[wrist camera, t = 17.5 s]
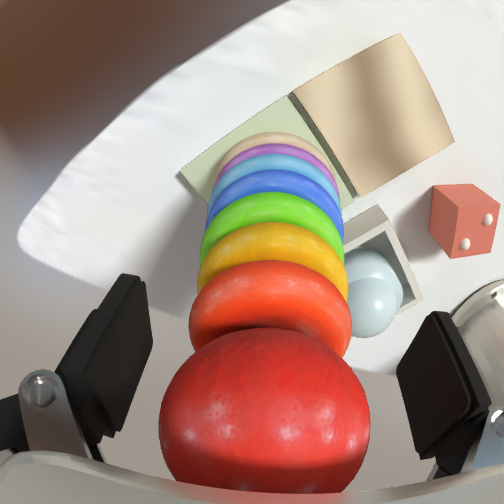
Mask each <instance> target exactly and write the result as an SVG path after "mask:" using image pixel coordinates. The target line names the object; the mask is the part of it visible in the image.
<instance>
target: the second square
mask: <svg viewBox="0 0 504 504" xmlns="http://www.w3.org/2000/svg"><path fill="white" fill-rule="evenodd" d="M264 132H284V133H289V134H293V135H296V136H299V137H301V138H303V139H305V140H307V141H309V142H310V143H312V144H313V145H314V146H316V147H317V148H318V149H319V150H320V151H321V152H322V153H323V154H324V155H325V157H326V158H327V160H328V161H329V163H330V165H331V166H332V169H333V171H334V174H335V177H336V181H337V187H338V191H339V195H340V206H341V209H343V208H344V207H346V206H348V205H350V204H351V203H353V202H355V201H354V200H353V198H352V196H351V194H350V193H349V191H348V189H347V188H346V186H345V184H344V183H343V181H342V179H341V177H340V176H339V174H338V173H337V171H336V169H335V168H334V166H333V164H332V163H331V161H330V160H329V158H328V156H327V155H326V153H325V152H324V150H323V149H322V147H321V145H320V144H319V142H318V141H317V139H316V138H315V136H314V135H313V133H312V132H311V130H310V129H309V127H308V126H307V124H306V123H305V121H304V120H303V118H302V117H301V116H300V114H299V113H298V111H297V110H296V108H295V107H294V106H293V104H292V103H291V101H290V100H289V99H288V97H287V96H286V95H285V96H283V97H282V98H280V99H279V100H277V101H276V102H274V103H273V104H271V105H269V106H268V107H266V108H265V109H263V110H262V111H260V112H259V113H257V114H256V115H254V116H253V117H251V118H250V119H249V120H247V121H246V122H244V123H243V124H241V125H240V126H238V127H237V128H236V129H234V130H233V131H231V132H230V133H229V134H227V135H226V136H224V137H223V138H222V139H220V140H219V141H217V142H216V143H215V144H213V145H212V146H211V147H209V148H208V149H207V150H205V151H204V152H203V153H201V154H200V155H199V156H197V157H196V158H195V159H193V160H192V161H191V162H190V163H188V164H187V165H186V166H184V167H183V168H182V169H181V170H180V172H181V173H182V174H183V175H184V177H185V178H186V179H187V180H188V181H189V183H190V184H191V185H192V186H193V187H194V189H195V190H196V191H197V192H198V193H199V195H200V196H201V197H202V198H203V199H204V201H205V202H206V203H207V204H209V200H210V197H211V194H212V190H213V181H214V176H215V172H216V169H217V167H218V165H219V163H220V161H221V160H222V158H223V157H224V155H225V154H226V153H227V152H228V151H229V150H230V149H231V148H232V147H233V146H234V145H235V144H237V143H238V142H240V141H241V140H243V139H245V138H247V137H249V136H252V135H255V134H259V133H264Z"/></svg>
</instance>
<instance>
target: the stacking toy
mask: <svg viewBox="0 0 504 504" xmlns="http://www.w3.org/2000/svg"><path fill="white" fill-rule="evenodd" d="M341 215H342V214H341V206H340V195H339V191H338V187H337V181H336V177H335V174H334V171H333V169H332V166H331V165H330V163H329V161H328V160H327V158H326V157H325V155H324V154H323V153H322V152H321V151H320V150H319V149H318V148H317V147H316V146H314V145H313V144H312V143H310V142H309V141H307V140H305V139H303V138H301V137H299V136H296V135H293V134H289V133H284V132H264V133H259V134H255V135H252V136H249V137H247V138H245V139H243V140H241V141H240V142H238V143H237V144H235V145H234V146H233V147H232V148H231V149H230V150H229V151H228V152H227V153H226V154H225V155H224V157H223V158H222V160H221V161H220V163H219V165H218V167H217V169H216V172H215V176H214V181H213V190H212V194H211V197H210V200H209V204H208V210H207V222H206V229H205V234H204V237H203V240H202V245H201V250H200V271H199V274H198V281H197V294H198V296H197V297H196V299H195V301H194V303H193V305H192V309H191V312H190V316H189V334H190V339H191V343H192V346H193V348H194V350H195V353H194V354H193V355H192V356H190V357H189V359H187V361H186V362H185V363H184V364H183V365H182V366H181V367H180V368H179V370H178V371H177V372H176V374H175V375H174V377H173V379H172V381H171V383H170V384H169V386H168V388H167V390H166V392H165V395H164V397H163V400H162V403H161V409H160V415H159V439H160V445H161V449H162V453H163V457H164V460H165V462H166V464H167V467H168V469H169V470H170V472H171V473H172V475H173V477H174V478H175V479H176V481H178V482H184V483H189V484H194V485H200V486H206V487H213V488H220V489H228V490H237V491H248V492H261V493H280V494H326V493H341V492H342V491H343V490H344V489H345V488H346V487H347V486H348V485H349V483H350V482H351V481H352V480H353V479H354V477H355V475H356V474H357V472H358V471H359V469H360V467H361V465H362V463H363V460H364V457H365V455H366V452H367V448H368V443H369V439H370V412H369V407H368V403H367V399H366V395H365V392H364V389H363V387H362V385H361V383H360V382H359V380H358V378H357V377H356V375H355V374H354V372H353V371H352V369H351V368H350V367H349V365H348V364H347V363H346V362H345V361H344V360H343V359H342V358H343V356H344V354H345V352H346V350H347V348H348V346H349V342H350V339H351V334H352V319H351V314H350V310H349V307H348V304H347V298H348V278H347V273H346V270H345V267H344V249H343V240H344V226H343V220H342V217H341Z"/></svg>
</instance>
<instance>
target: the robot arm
mask: <svg viewBox="0 0 504 504" xmlns="http://www.w3.org/2000/svg"><path fill="white" fill-rule="evenodd" d="M152 345H153V338H152V331H151V324H150V317H149V310H148V302H147V293H146V285H145V282H144V281H141V279H140V277H139V276H136V275H130V274H124V273H122V274H121V275H120V276H119V277H118V279H117V280H116V282H115V283H114V285H113V286H112V288H111V289H110V291H109V292H108V294H107V295H106V297H105V298H104V300H103V302H102V303H101V304H100V306H99V308H98V309H95V310H93V311H92V312H91V313H90V314H89V316H88V317H87V319H86V321H85V322H84V324H83V325H82V327H81V328H80V330H79V332H78V334H77V335H76V337H75V338H74V340H73V341H72V343H71V345H70V346H69V348H68V350H67V351H66V353H65V355H64V356H63V358H62V360H61V361H60V363H59V365H58V367H57V368H56V370H55V372H52V371H50V370H44V369H42V370H36V371H34V372H32V373H29V374H28V375H27V376H26V377H25V378H24V379H23V380H22V382H21V384H20V386H19V390H18V394H16V395H13V396H10V397H7V398H4V399H1V400H0V504H504V280H500V281H497V282H494V283H492V284H490V285H488V286H486V287H484V288H482V289H481V290H480V291H478V292H477V293H475V294H474V295H473V296H472V297H470V298H469V299H468V300H467V301H466V302H465V303H464V304H463V305H462V306H461V307H460V308H459V309H458V310H457V311H456V313H455V314H454V315H453V316H452V318H451V316H450V315H449V313H448V312H440V311H433V312H431V313H430V315H428V316H426V318H425V320H424V322H423V323H422V325H421V327H420V329H419V331H418V332H417V334H416V336H415V338H414V339H413V341H412V343H411V344H410V346H409V348H408V349H407V351H406V353H405V354H404V356H403V358H402V359H401V361H400V363H399V364H398V366H397V370H396V375H397V378H398V382H399V386H400V389H401V393H402V397H403V400H404V404H405V408H406V412H407V416H408V420H409V424H410V428H411V433H412V437H413V442H414V446H415V450H416V452H417V453H419V456H420V459H421V460H423V459H429V458H433V457H434V456H435V458H436V462H435V464H434V466H433V469H432V470H431V472H430V474H429V476H428V478H427V480H426V481H425V482H420V483H415V484H410V485H404V486H398V487H391V488H385V489H376V490H368V491H357V492H345V493H326V494H280V493H261V492H248V491H237V490H228V489H220V488H213V487H206V486H200V485H194V484H189V483H184V482H178V481H174V480H169V479H164V478H160V477H155V476H150V475H146V474H143V473H139V472H135V471H131V470H127V469H124V468H120V467H117V466H114V465H110V464H107V462H106V459H105V457H104V455H103V453H102V451H101V448H100V446H99V444H98V443H100V442H101V439H102V437H103V435H105V436H108V437H111V438H114V435H115V432H116V431H118V432H120V431H121V429H122V427H123V425H124V422H125V419H126V416H127V413H128V411H129V408H130V405H131V402H132V400H133V397H134V394H135V391H136V389H137V386H138V384H139V381H140V378H141V376H142V373H143V370H144V368H145V365H146V363H147V360H148V358H149V355H150V352H151V349H152Z"/></svg>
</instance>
